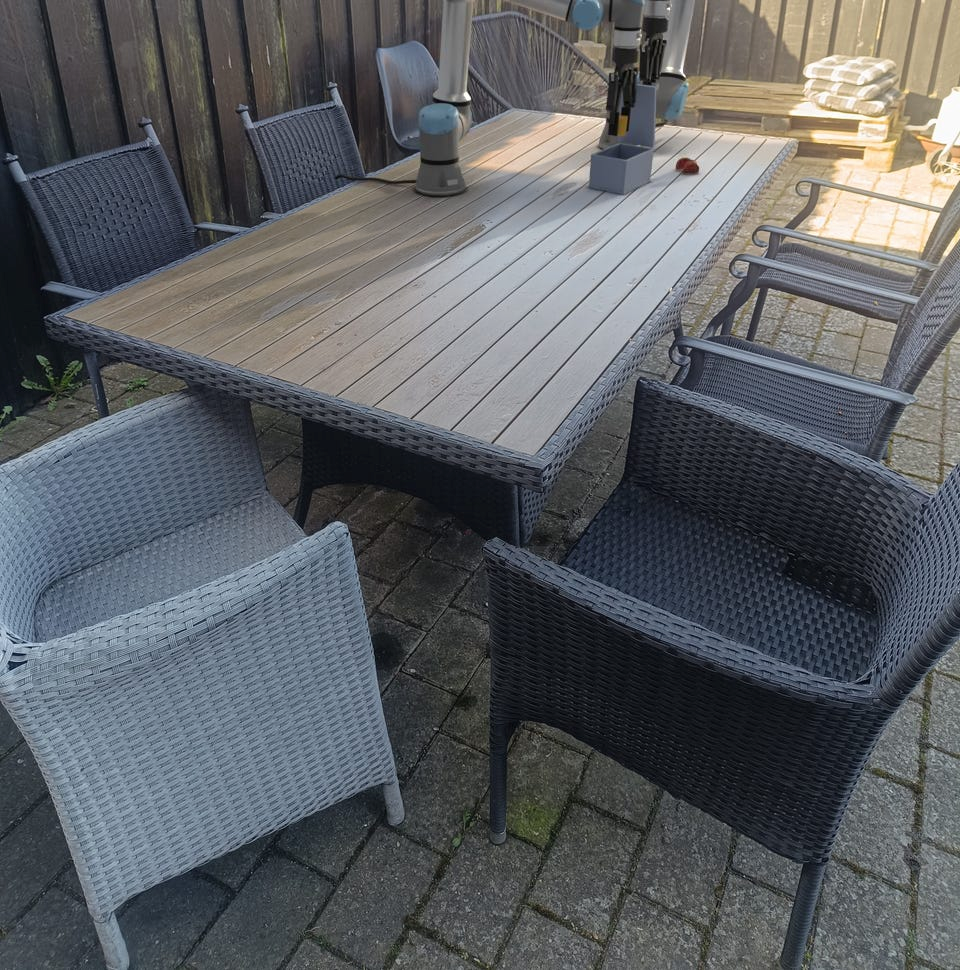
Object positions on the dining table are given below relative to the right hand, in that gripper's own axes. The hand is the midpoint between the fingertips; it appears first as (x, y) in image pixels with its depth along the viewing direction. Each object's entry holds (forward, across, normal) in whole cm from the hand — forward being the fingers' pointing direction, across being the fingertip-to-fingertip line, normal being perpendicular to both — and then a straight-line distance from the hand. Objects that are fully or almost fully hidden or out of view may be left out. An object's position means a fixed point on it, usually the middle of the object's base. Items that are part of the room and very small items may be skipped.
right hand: (647, 103), depth 259 cm
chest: (+21, -13, 0) cm, 25 cm away
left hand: (+5, -17, 0) cm, 18 cm away
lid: (+2, -6, 0) cm, 7 cm away
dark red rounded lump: (+22, +13, -10) cm, 27 cm away
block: (+6, -17, 0) cm, 18 cm away
